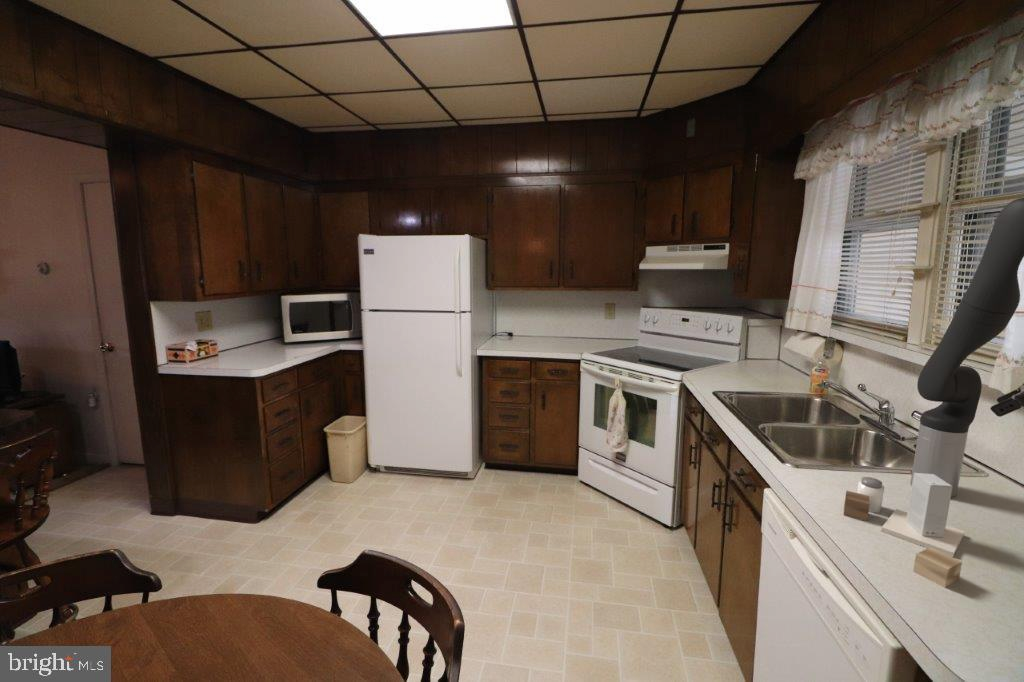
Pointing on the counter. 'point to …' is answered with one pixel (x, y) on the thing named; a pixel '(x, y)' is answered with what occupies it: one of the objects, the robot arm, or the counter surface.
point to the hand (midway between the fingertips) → (997, 407)
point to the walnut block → (856, 505)
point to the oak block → (937, 567)
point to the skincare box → (929, 504)
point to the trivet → (905, 531)
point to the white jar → (872, 492)
